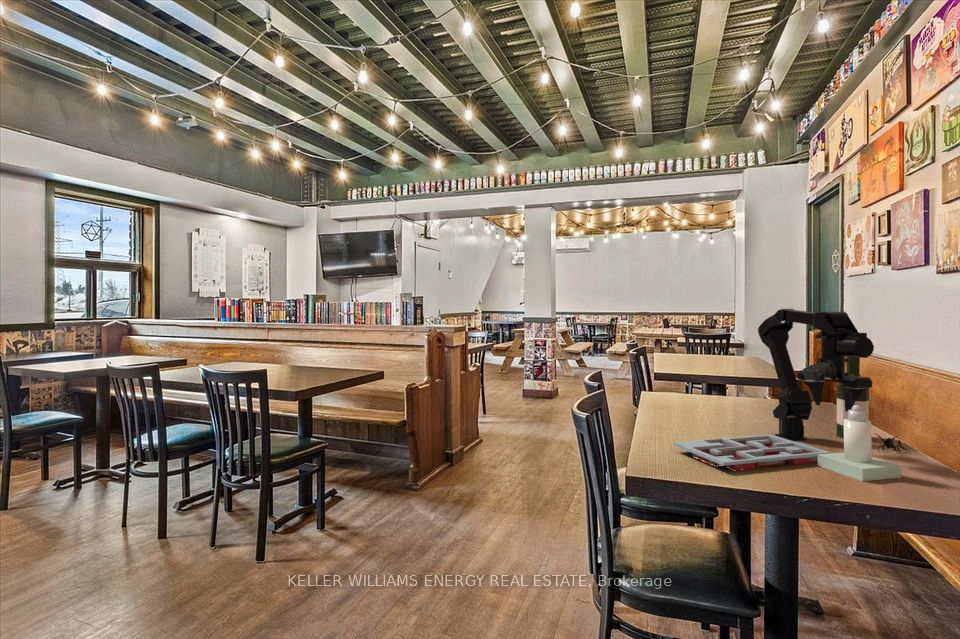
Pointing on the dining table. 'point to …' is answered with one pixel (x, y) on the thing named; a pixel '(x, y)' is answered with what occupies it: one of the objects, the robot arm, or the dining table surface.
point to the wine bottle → (862, 400)
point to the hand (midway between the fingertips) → (832, 408)
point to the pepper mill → (857, 436)
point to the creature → (890, 444)
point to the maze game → (751, 451)
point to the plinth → (859, 467)
